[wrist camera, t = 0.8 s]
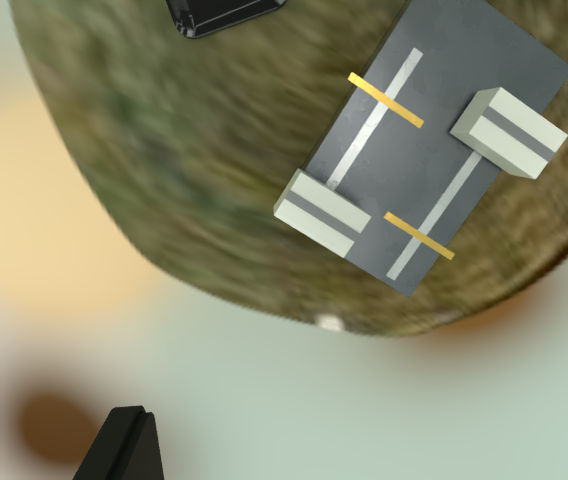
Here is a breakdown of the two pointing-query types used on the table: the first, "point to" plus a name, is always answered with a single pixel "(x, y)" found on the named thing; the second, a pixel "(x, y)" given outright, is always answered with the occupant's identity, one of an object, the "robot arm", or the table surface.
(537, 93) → the console
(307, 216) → the block
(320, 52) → the table surface
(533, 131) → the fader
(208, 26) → the phone
